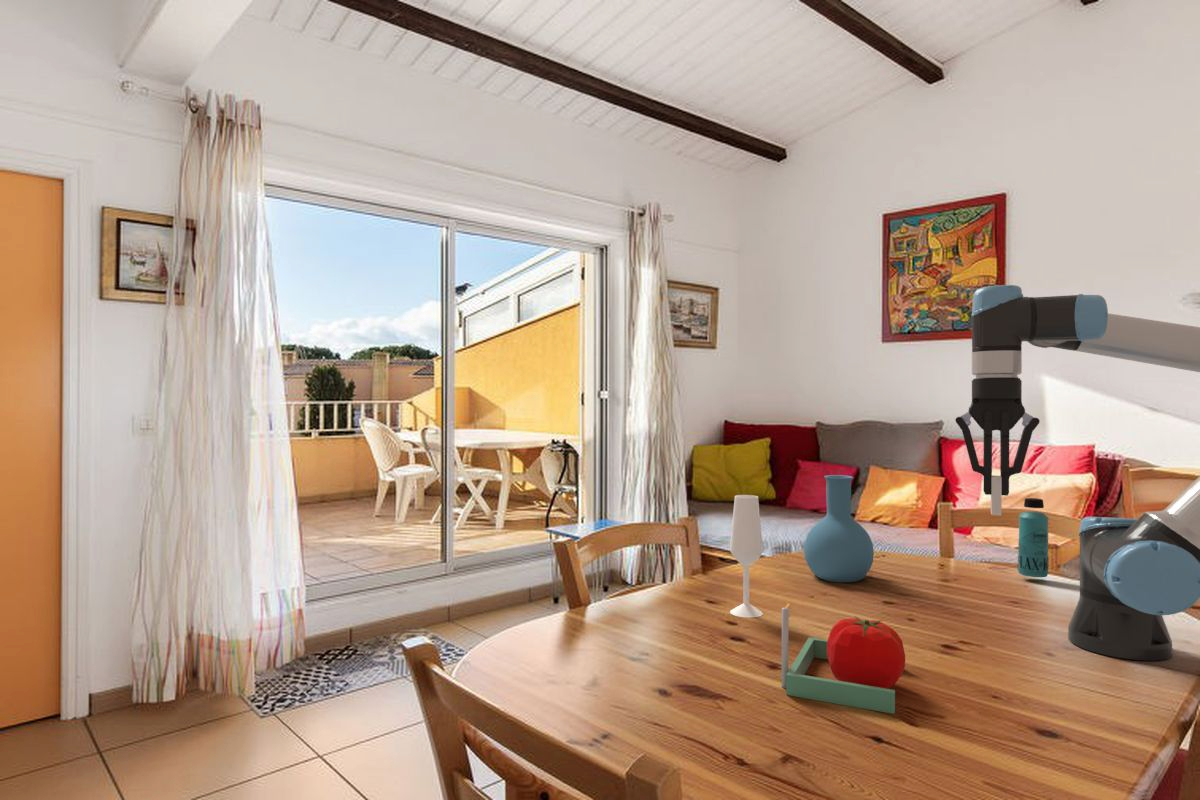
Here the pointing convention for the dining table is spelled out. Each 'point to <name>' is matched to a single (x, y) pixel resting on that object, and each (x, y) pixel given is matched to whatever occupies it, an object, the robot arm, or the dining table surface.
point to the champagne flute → (746, 545)
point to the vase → (838, 538)
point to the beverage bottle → (1033, 541)
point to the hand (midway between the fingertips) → (996, 514)
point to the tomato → (865, 653)
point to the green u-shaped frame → (823, 687)
